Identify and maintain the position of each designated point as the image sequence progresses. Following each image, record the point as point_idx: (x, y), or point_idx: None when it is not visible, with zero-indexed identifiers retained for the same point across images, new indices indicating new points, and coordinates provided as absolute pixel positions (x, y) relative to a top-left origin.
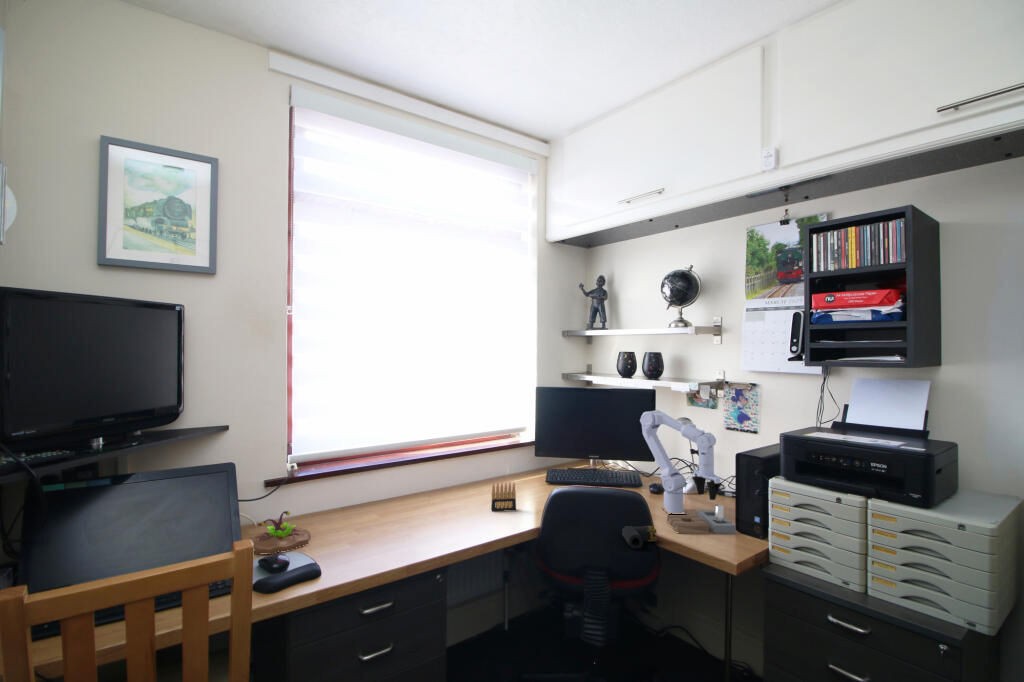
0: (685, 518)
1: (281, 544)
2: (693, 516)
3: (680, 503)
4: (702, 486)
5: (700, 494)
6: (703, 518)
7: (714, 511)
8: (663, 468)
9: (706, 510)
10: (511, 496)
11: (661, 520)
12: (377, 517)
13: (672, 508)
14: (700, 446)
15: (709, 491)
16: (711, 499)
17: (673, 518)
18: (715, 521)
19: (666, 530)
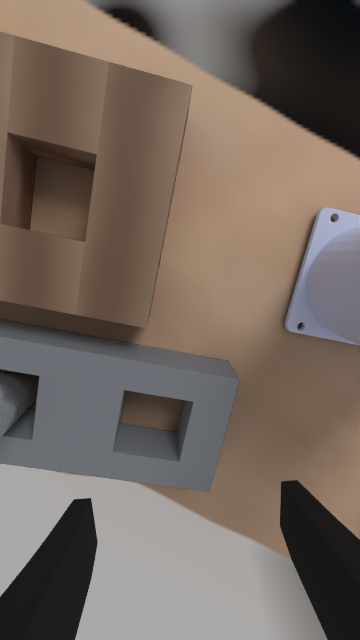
0: (91, 199)
1: None
2: (120, 284)
3: (347, 308)
4: (334, 628)
5: (281, 496)
6: (119, 352)
7: (192, 473)
8: None
9: (222, 438)
10: None
11: (236, 100)
12: None
13: (344, 244)
14: None
15: (23, 599)
16: (70, 507)
17: (98, 88)
18: (2, 376)
19: (36, 11)
